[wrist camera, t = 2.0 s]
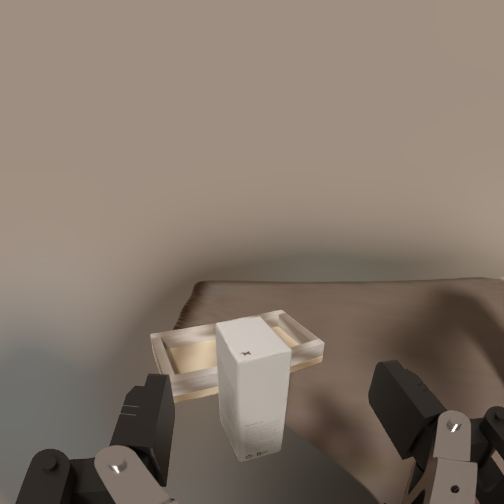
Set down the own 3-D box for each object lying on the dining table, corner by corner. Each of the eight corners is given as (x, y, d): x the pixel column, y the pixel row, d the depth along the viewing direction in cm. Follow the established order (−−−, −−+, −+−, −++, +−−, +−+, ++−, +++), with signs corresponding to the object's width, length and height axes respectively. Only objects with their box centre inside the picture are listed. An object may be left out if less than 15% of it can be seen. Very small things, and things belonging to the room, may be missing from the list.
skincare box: (282, 452, 24) (294, 350, 21) (238, 464, 22) (236, 363, 19) (258, 412, 29) (261, 314, 26) (219, 421, 28) (212, 321, 25)
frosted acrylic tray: (280, 326, 48) (281, 309, 47) (321, 361, 38) (324, 343, 37) (153, 352, 39) (150, 333, 39) (170, 403, 30) (166, 383, 29)
